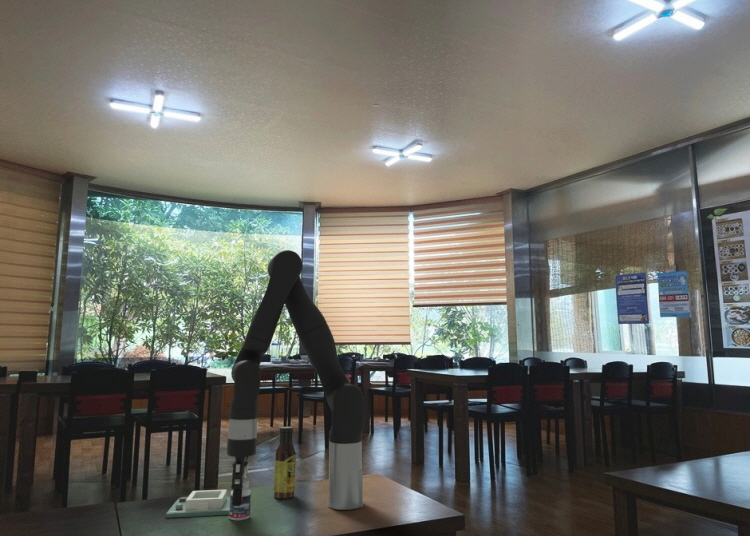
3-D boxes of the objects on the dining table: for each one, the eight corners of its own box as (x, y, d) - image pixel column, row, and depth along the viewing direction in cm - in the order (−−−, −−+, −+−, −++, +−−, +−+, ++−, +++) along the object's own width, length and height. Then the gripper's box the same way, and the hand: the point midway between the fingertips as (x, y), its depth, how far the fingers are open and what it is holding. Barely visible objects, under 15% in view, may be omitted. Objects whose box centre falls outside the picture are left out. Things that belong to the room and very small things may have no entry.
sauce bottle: (290, 500, 146) (291, 429, 150) (270, 499, 148) (272, 428, 151) (298, 494, 153) (299, 426, 156) (278, 493, 154) (280, 425, 157)
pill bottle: (231, 522, 128) (232, 484, 129) (227, 516, 132) (229, 480, 134) (252, 519, 130) (253, 482, 131) (248, 513, 134) (249, 478, 136)
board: (242, 499, 147) (243, 486, 148) (237, 514, 134) (237, 500, 134) (178, 502, 145) (178, 489, 145) (165, 517, 131) (166, 503, 132)
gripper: (254, 440, 128) (250, 508, 125) (258, 432, 142) (255, 493, 139) (223, 440, 127) (219, 509, 124) (231, 432, 141) (227, 494, 138)
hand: (238, 500), depth 132 cm, fingers open, 8 cm apart
